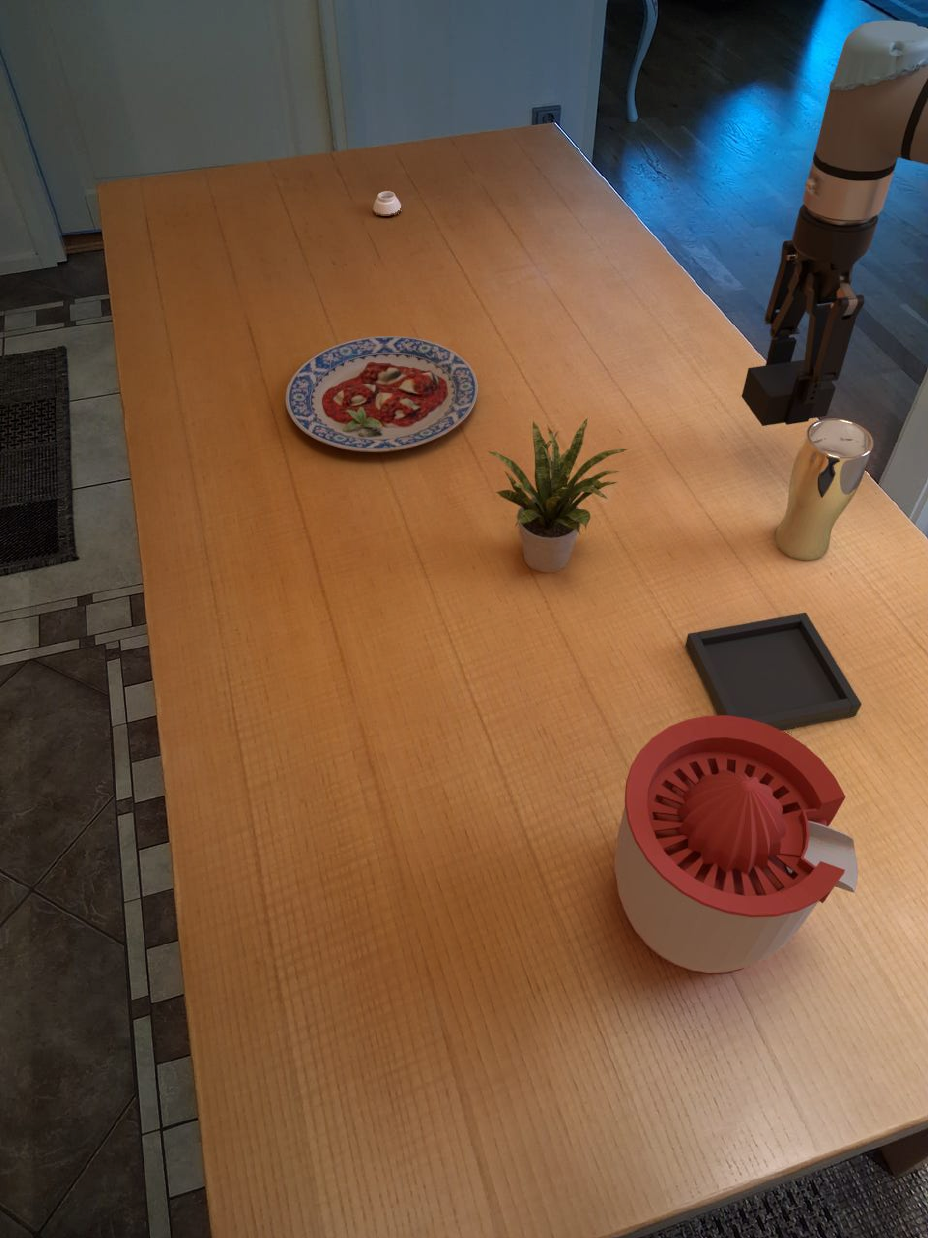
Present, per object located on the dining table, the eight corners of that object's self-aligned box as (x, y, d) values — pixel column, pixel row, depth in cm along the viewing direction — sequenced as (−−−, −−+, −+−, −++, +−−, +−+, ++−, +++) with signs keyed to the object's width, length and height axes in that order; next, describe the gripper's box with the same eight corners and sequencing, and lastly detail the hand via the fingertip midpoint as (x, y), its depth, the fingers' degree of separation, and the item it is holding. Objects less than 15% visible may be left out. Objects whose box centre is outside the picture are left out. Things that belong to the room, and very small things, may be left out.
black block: (803, 386, 108) (812, 357, 105) (826, 416, 105) (836, 387, 102) (741, 396, 108) (748, 367, 105) (762, 426, 104) (770, 397, 101)
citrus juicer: (809, 1031, 69) (901, 932, 54) (585, 971, 72) (612, 861, 57) (815, 849, 78) (894, 721, 63) (617, 803, 82) (647, 670, 67)
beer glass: (757, 538, 103) (790, 434, 92) (796, 512, 106) (833, 408, 95) (805, 573, 100) (846, 468, 88) (845, 545, 102) (890, 440, 91)
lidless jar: (368, 209, 159) (381, 220, 156) (367, 192, 156) (379, 203, 154) (394, 202, 160) (406, 214, 157) (392, 186, 158) (405, 197, 155)
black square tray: (801, 624, 95) (806, 612, 93) (855, 716, 87) (862, 704, 86) (684, 645, 93) (688, 633, 92) (730, 740, 86) (734, 729, 84)
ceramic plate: (367, 330, 133) (365, 312, 131) (514, 385, 124) (514, 366, 121) (248, 420, 120) (243, 401, 118) (402, 489, 110) (400, 471, 108)
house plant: (646, 563, 101) (668, 449, 89) (559, 626, 95) (570, 513, 83) (556, 500, 108) (565, 386, 96) (470, 555, 103) (468, 441, 90)
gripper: (763, 173, 94) (722, 364, 112) (851, 259, 82) (788, 459, 99) (830, 164, 95) (778, 355, 112) (926, 249, 83) (851, 448, 100)
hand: (783, 403), depth 106 cm, fingers closed on black block, 6 cm apart
